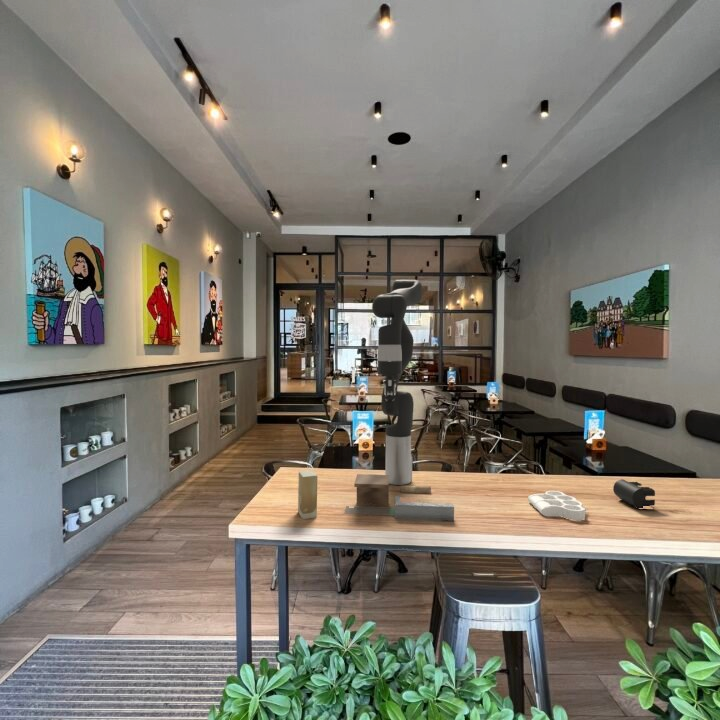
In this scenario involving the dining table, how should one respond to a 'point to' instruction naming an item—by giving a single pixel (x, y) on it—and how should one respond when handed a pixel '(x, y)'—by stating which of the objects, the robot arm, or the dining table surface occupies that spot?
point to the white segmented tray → (558, 505)
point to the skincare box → (307, 494)
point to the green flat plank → (370, 510)
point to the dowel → (416, 489)
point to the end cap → (633, 493)
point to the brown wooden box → (372, 489)
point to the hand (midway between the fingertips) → (389, 411)
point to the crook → (423, 510)
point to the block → (408, 500)
